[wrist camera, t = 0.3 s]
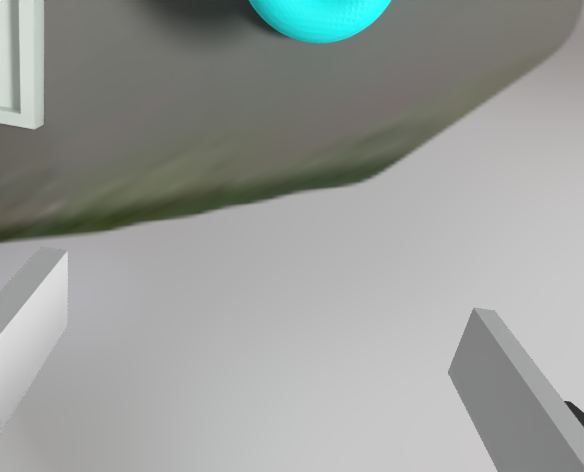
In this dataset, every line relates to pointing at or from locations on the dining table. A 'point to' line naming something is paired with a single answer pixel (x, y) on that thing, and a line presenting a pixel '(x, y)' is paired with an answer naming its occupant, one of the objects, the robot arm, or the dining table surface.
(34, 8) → the dish
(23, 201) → the dining table surface
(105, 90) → the dining table surface
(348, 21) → the donuts
